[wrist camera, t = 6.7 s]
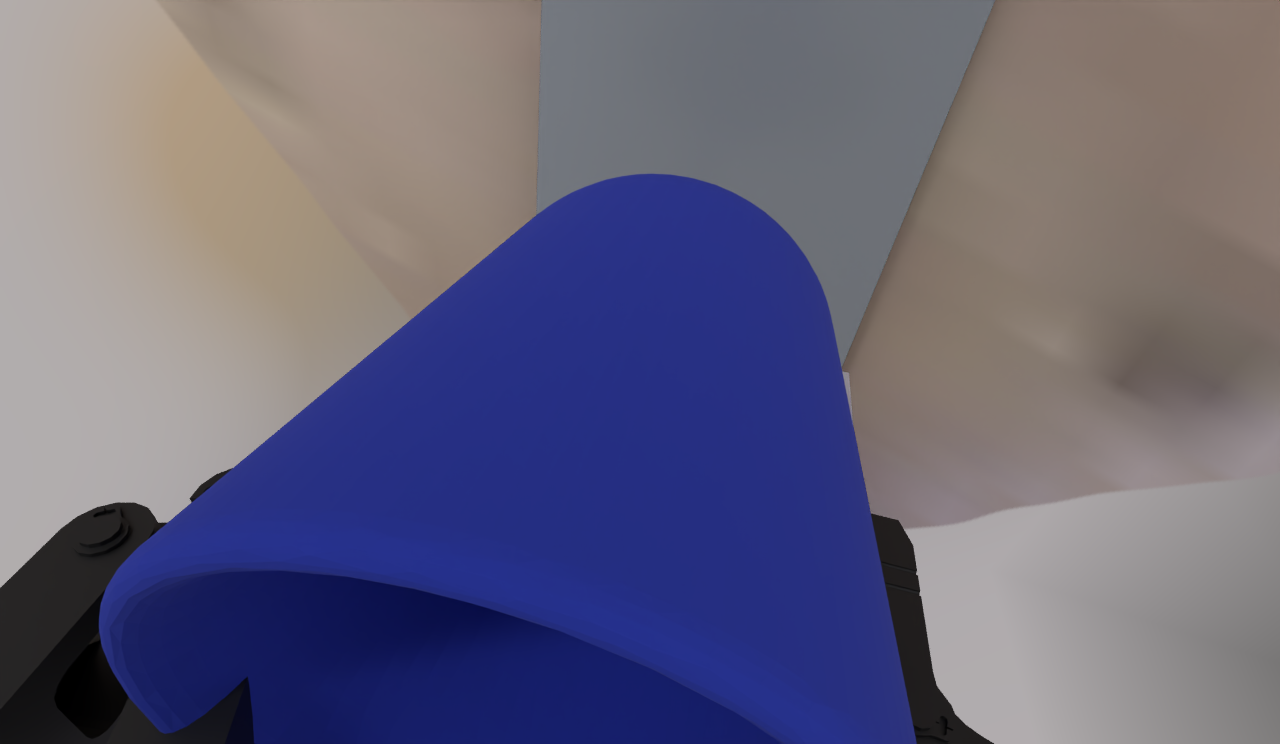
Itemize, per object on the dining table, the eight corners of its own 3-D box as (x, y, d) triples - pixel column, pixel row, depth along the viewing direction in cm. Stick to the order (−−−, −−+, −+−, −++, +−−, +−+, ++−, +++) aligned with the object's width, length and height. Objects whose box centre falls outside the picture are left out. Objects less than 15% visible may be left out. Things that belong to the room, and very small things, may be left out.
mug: (436, 448, 19) (166, 841, 11) (557, 34, 11) (-34, 344, 3) (683, 560, 19) (595, 1009, 11) (953, 239, 12) (1227, 901, 4)
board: (557, -134, 20) (545, -135, 19) (1008, -60, 19) (1019, -58, 18) (541, 329, 31) (533, 343, 30) (823, 395, 30) (823, 411, 29)
